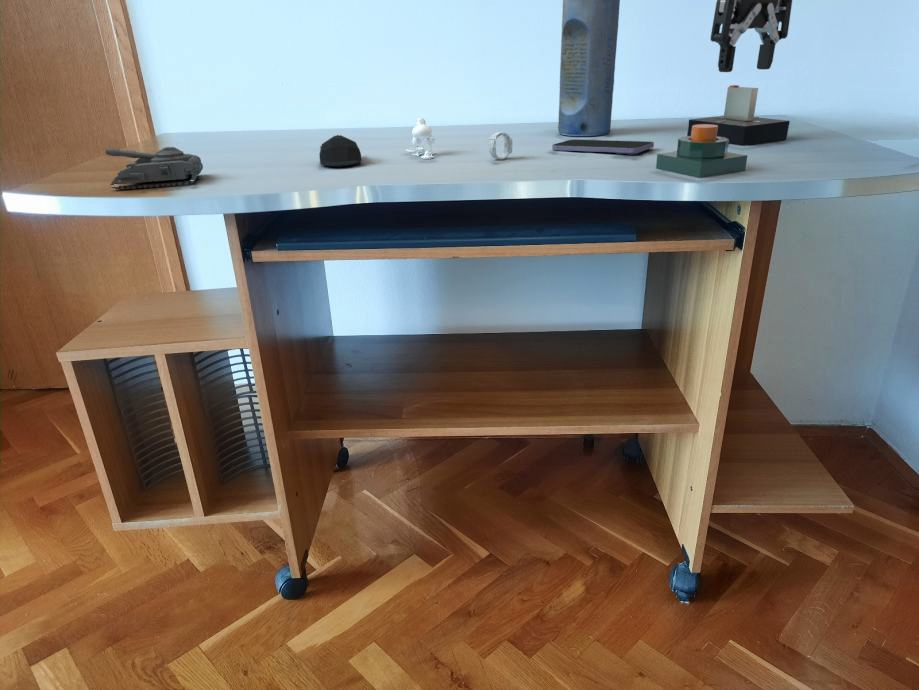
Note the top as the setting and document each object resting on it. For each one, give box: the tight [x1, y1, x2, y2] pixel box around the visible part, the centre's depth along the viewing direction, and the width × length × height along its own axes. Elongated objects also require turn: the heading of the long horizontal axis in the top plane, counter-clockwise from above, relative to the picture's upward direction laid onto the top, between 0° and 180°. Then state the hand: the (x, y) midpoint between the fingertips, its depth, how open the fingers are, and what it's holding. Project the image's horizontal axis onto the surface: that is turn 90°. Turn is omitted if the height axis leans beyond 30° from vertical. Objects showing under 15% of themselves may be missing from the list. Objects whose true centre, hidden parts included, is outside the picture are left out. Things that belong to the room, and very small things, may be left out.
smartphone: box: [551, 139, 655, 156], centre depth 102 cm, size 7×1×15 cm
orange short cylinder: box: [691, 124, 718, 141], centre depth 84 cm, size 3×3×2 cm
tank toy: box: [105, 146, 204, 190], centre depth 90 cm, size 12×10×5 cm
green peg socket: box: [655, 135, 748, 179], centre depth 85 cm, size 8×8×4 cm
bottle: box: [557, 0, 621, 137], centre depth 113 cm, size 10×10×30 cm
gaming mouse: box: [318, 134, 362, 168], centre depth 102 cm, size 6×15×4 cm, turn 12°
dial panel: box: [686, 115, 791, 147], centre depth 107 cm, size 12×10×3 cm
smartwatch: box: [487, 131, 513, 161], centre depth 98 cm, size 4×2×4 cm, turn 123°
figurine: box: [406, 117, 437, 160], centre depth 104 cm, size 5×10×6 cm, turn 8°
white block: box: [723, 84, 759, 121], centre depth 105 cm, size 5×1×5 cm, turn 26°
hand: (744, 70), depth 103 cm, fingers open, 8 cm apart
